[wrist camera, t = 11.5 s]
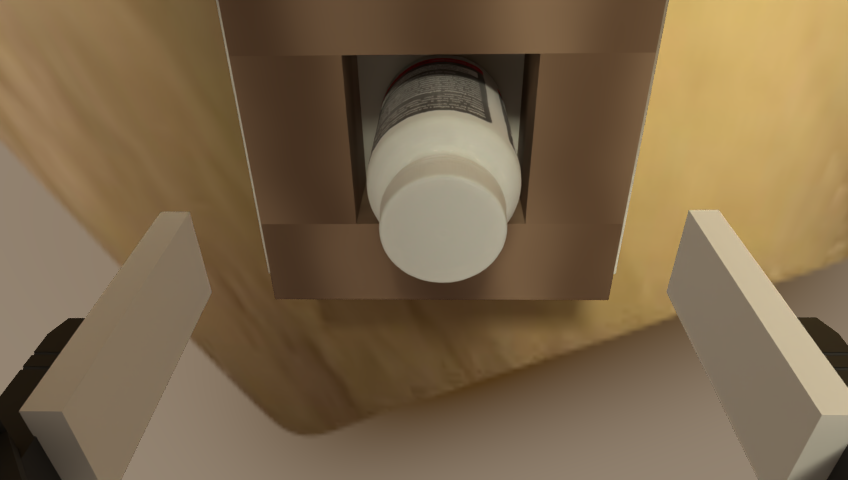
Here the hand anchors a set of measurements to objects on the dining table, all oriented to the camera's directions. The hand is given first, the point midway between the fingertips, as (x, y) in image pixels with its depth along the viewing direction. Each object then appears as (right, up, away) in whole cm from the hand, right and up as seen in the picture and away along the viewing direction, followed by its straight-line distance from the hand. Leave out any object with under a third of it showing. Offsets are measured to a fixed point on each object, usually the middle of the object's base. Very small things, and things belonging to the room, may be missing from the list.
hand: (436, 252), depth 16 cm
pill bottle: (+1, +6, +10) cm, 12 cm away
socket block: (0, +7, +11) cm, 13 cm away
